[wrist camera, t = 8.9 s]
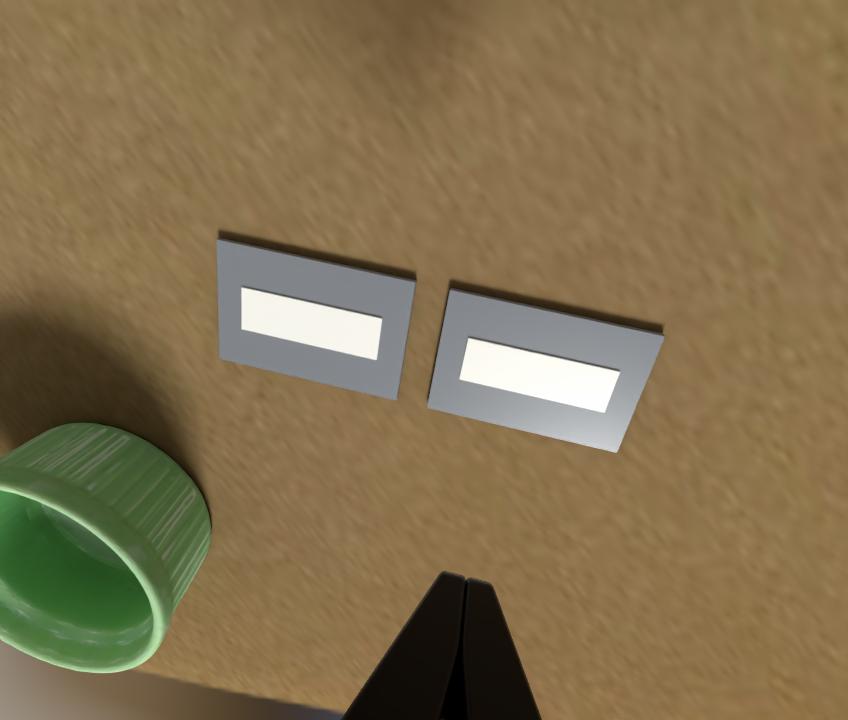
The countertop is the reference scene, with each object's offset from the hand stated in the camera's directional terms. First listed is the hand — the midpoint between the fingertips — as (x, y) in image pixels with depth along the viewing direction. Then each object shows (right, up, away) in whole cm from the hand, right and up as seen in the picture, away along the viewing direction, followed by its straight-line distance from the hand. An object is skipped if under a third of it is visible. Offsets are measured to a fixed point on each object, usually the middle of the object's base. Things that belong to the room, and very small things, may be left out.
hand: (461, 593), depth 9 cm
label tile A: (+3, +3, +7) cm, 8 cm away
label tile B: (-4, +5, +8) cm, 10 cm away
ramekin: (-13, -2, +13) cm, 19 cm away
